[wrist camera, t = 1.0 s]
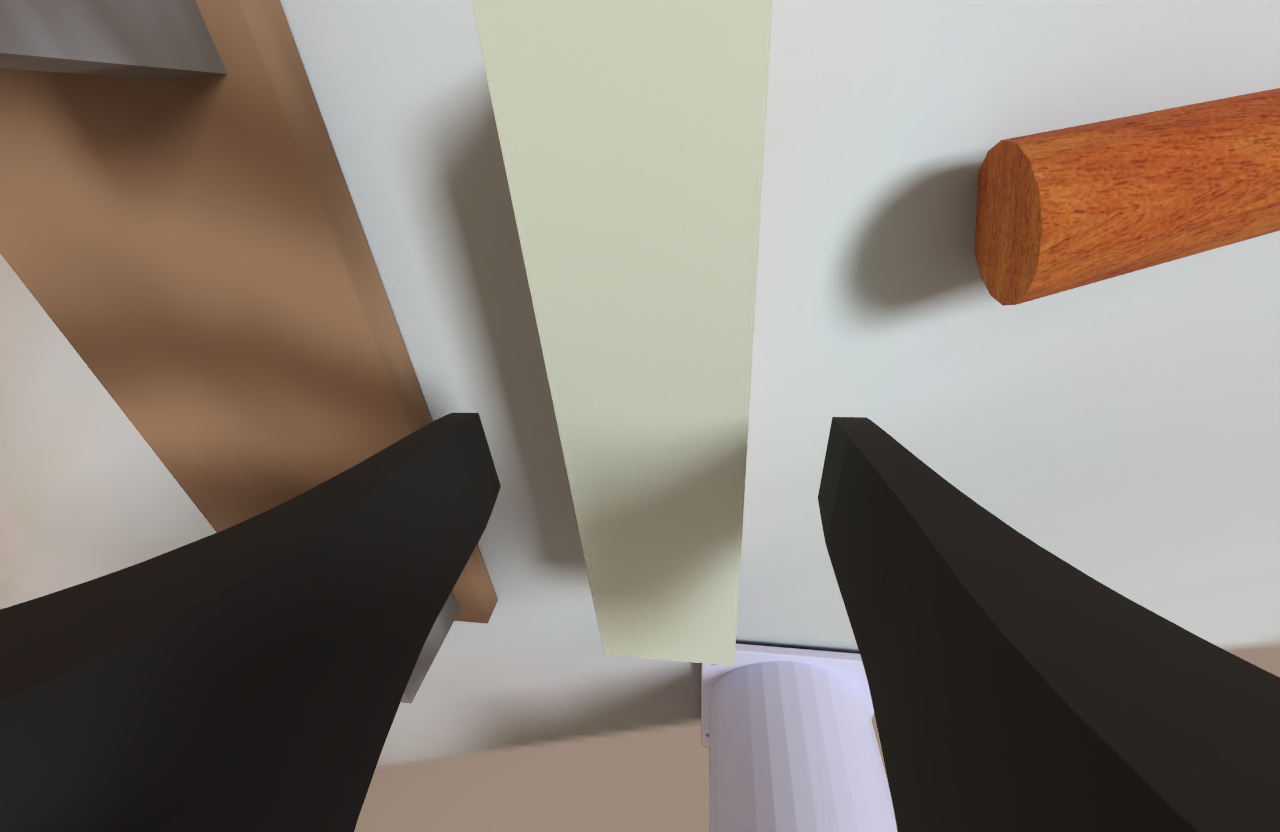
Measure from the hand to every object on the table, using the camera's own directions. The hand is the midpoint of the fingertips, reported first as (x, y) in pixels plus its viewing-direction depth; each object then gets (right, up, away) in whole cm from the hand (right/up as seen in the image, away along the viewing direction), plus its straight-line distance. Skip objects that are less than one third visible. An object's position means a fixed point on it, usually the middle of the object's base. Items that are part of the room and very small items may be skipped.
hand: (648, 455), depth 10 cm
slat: (+1, +3, +4) cm, 5 cm away
